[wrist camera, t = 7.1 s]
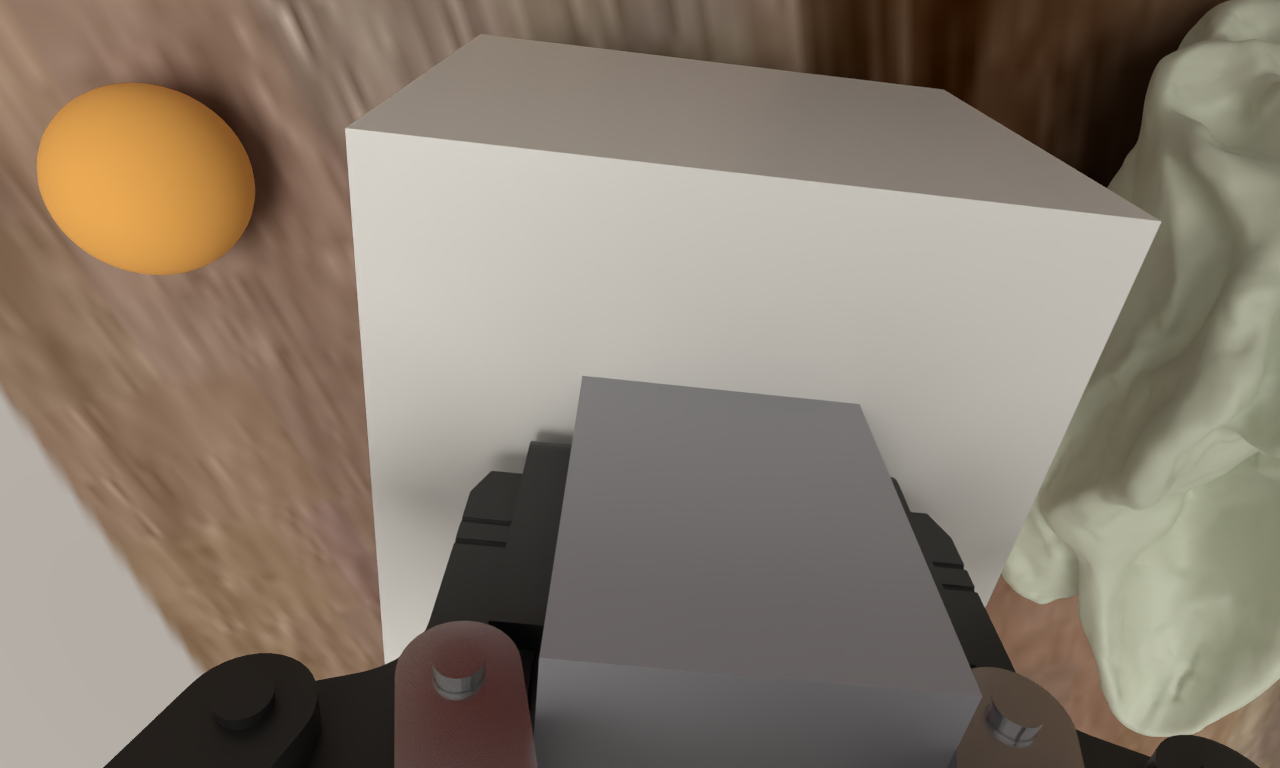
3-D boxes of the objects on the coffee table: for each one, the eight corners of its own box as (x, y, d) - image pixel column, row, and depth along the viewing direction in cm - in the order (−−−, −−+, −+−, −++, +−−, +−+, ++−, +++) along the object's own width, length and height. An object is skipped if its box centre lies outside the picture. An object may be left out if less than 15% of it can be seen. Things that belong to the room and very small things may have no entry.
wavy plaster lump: (1116, 316, 33) (1387, 703, 25) (826, 349, 30) (1019, 797, 22) (1579, -183, 19) (2631, 345, 10) (1101, -209, 16) (1995, 489, 7)
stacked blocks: (943, 89, 18) (1540, 450, 6) (835, 462, 23) (1035, 1059, 11) (480, 33, 17) (98, 300, 5) (476, 426, 22) (277, 1008, 10)
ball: (272, 78, 23) (181, 118, 18) (293, 245, 25) (217, 315, 21) (92, 57, 22) (-43, 93, 18) (131, 227, 25) (20, 294, 21)
